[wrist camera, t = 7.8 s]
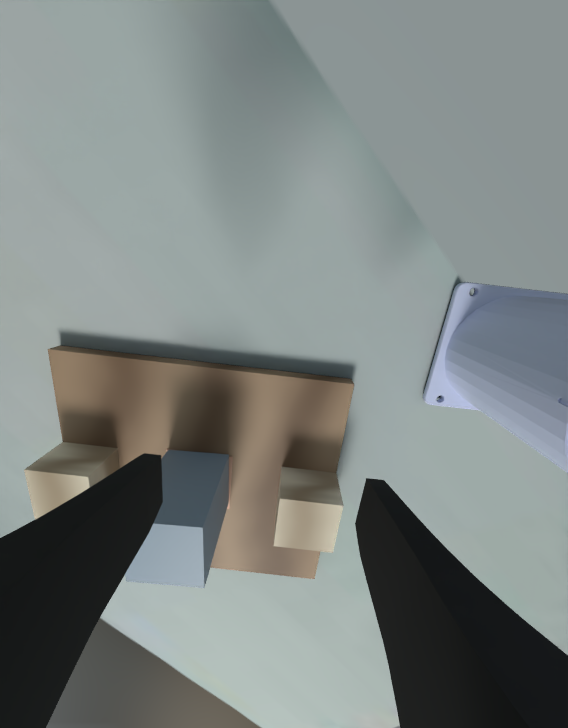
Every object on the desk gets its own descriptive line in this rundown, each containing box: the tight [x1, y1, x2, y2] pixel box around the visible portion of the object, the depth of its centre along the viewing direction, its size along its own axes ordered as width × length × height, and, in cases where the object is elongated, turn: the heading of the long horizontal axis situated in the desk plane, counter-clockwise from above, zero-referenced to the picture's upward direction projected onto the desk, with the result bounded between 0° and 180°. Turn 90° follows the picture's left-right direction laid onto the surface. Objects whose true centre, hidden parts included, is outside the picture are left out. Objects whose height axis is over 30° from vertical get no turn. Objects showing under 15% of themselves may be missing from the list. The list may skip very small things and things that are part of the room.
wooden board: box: [24, 346, 354, 579], centre depth 20 cm, size 20×18×4 cm
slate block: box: [125, 450, 229, 588], centre depth 17 cm, size 4×4×6 cm
